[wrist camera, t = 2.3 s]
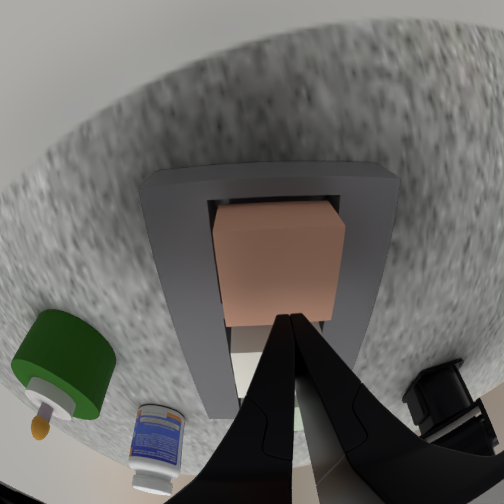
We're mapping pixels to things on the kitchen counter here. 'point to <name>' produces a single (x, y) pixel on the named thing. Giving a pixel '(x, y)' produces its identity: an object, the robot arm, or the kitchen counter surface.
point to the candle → (63, 369)
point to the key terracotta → (277, 260)
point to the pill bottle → (156, 449)
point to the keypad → (205, 266)
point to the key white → (249, 352)
